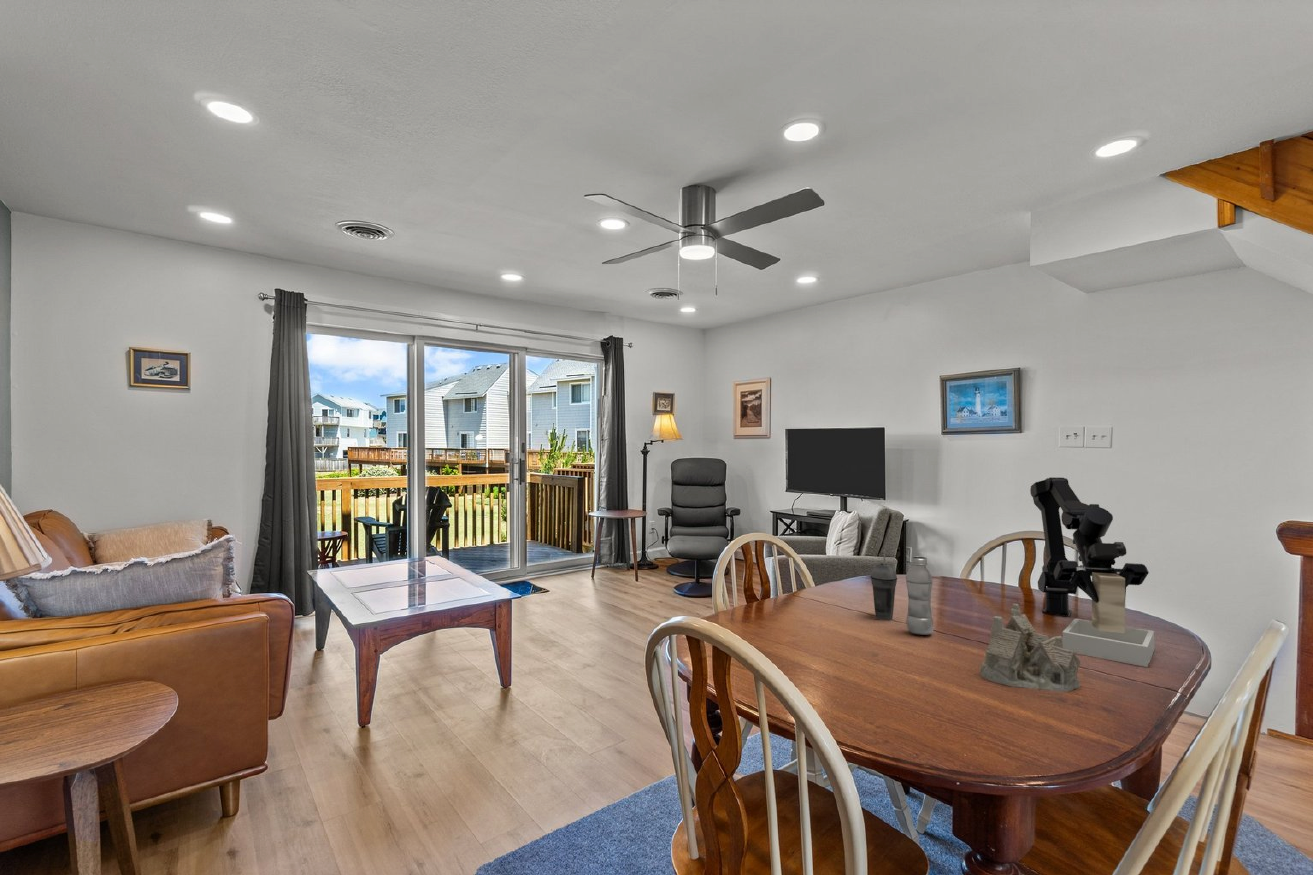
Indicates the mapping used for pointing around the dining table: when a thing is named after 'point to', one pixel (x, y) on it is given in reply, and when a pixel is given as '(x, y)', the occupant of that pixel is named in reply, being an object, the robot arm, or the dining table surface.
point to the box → (1110, 643)
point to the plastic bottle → (919, 597)
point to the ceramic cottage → (1028, 657)
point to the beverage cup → (883, 590)
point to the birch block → (1109, 602)
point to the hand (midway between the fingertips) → (1110, 602)
